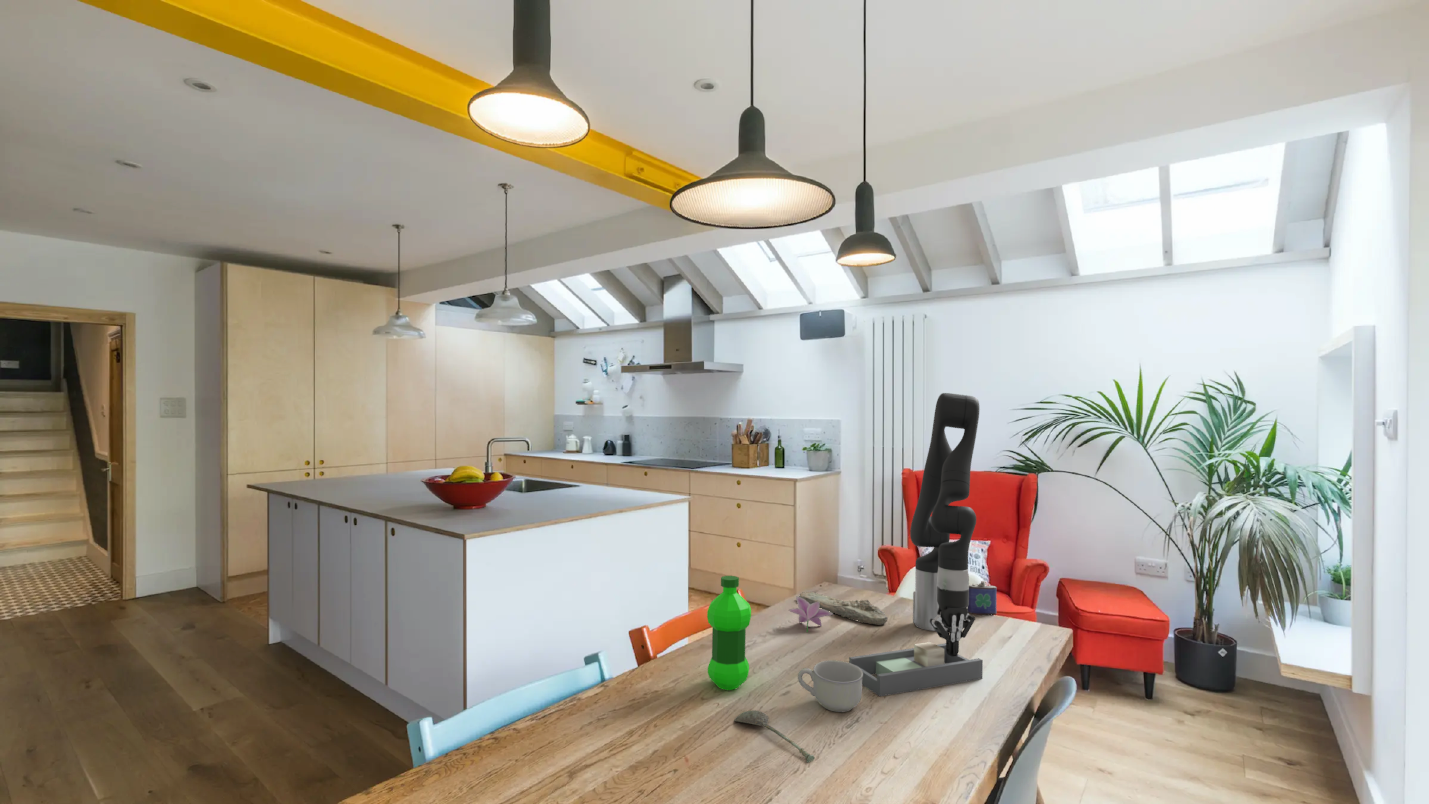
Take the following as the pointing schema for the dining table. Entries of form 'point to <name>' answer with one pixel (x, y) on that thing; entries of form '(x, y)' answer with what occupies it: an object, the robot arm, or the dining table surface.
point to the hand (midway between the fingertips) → (952, 655)
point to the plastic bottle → (729, 636)
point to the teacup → (834, 684)
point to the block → (928, 654)
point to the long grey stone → (848, 608)
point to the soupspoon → (762, 720)
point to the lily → (809, 611)
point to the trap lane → (913, 671)
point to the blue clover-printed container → (982, 599)
